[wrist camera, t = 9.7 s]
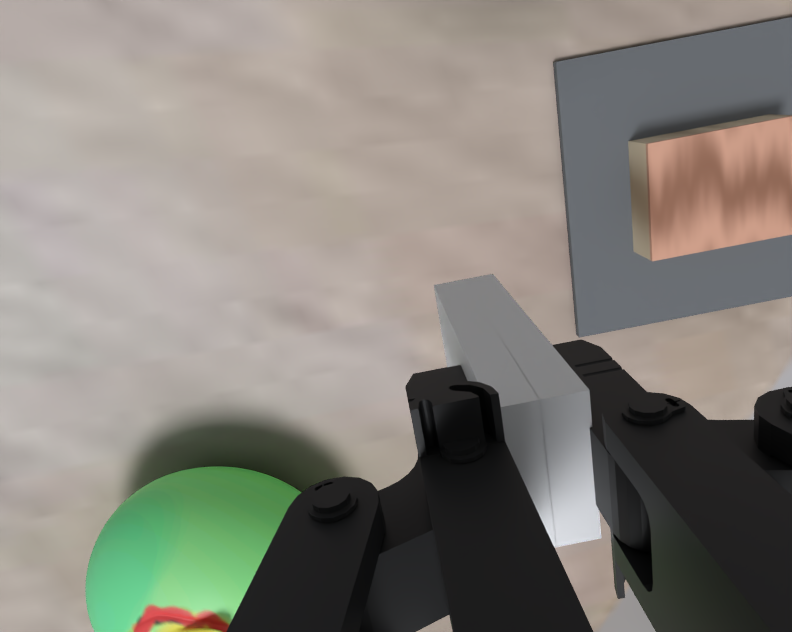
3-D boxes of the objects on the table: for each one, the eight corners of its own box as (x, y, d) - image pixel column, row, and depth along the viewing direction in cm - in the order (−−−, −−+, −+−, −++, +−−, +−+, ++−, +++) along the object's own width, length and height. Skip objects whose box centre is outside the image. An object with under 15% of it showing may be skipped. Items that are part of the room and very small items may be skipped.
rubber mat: (553, 62, 41) (555, 62, 41) (800, 15, 41) (806, 14, 41) (576, 334, 48) (579, 337, 47) (789, 293, 48) (794, 295, 48)
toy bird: (366, 460, 50) (372, 595, 37) (315, 618, 55) (304, 789, 42) (143, 411, 48) (57, 537, 34) (110, 581, 53) (24, 752, 39)
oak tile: (647, 143, 40) (798, 115, 40) (628, 141, 43) (768, 114, 43) (652, 261, 43) (793, 234, 43) (633, 251, 46) (765, 226, 46)
